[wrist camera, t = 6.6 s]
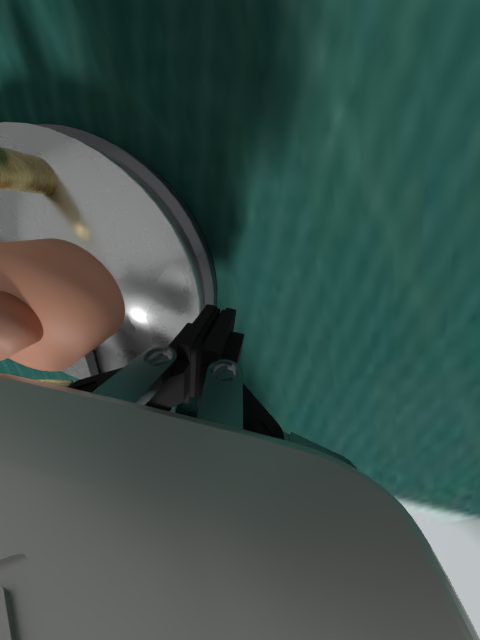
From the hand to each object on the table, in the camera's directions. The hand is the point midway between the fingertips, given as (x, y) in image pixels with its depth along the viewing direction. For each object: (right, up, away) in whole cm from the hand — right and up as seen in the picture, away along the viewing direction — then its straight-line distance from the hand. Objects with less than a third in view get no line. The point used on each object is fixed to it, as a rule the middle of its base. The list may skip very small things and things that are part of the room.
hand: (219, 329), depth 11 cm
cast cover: (-10, +2, +2) cm, 10 cm away
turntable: (-10, +3, +3) cm, 10 cm away
